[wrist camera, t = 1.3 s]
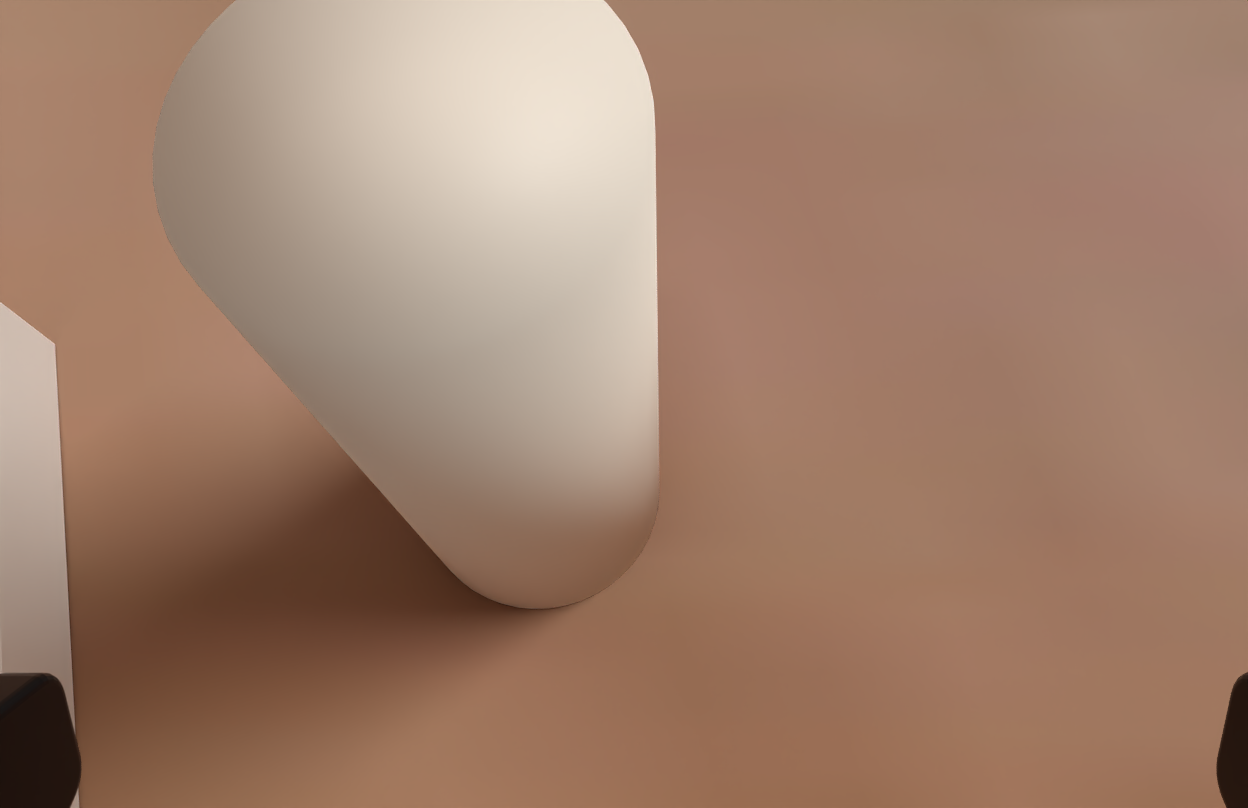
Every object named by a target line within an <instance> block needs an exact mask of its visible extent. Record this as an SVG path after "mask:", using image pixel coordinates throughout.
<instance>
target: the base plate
mask: <svg viewBox="0 0 1248 808" xmlns="http://www.w3.org/2000/svg"><path fill="white" fill-rule="evenodd" d="M1 673H50V674H52V675H53V676H55V677H57V678H58V679H59V681H60V682H61V684H62V686H63V688H64V691H65V695H66V699H67V703H68V707H69V711H70V715H71V719H72V723H73V728H74V732H75V716H74V697H73V678H72V659H71V640H70V621H69V602H68V583H67V564H66V545H65V526H64V507H63V488H62V469H61V450H60V431H59V412H58V393H57V374H56V355H55V344H54V343H53V342H51V341H50V340H49V339H48V338H46V337H45V336H44V335H42V334H41V333H40V332H38V331H37V330H36V329H35V328H33V327H32V326H31V325H29V324H28V323H27V322H25V321H24V320H23V319H22V318H20V317H19V316H18V315H16V314H15V313H14V312H12V311H11V310H10V309H9V308H7V307H6V306H5V305H3V304H2V303H1V302H0V674H1ZM75 736H76V735H75ZM70 808H79V792H78V790H77V793H76V796H75V798H74V800H73V803H72V805H71V807H70Z"/></svg>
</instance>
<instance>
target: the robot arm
mask: <svg viewBox="0 0 1248 808" xmlns="http://www.w3.org/2000/svg"><path fill="white" fill-rule="evenodd" d="M80 778H81V757H80V752H79V748H78V744H77V740H76V736H75V732H74V728H73V723H72V719H71V715H70V711H69V707H68V703H67V699H66V695H65V691H64V688H63V686H62V684H61V682H60V681H59V679H58V678H57V677H55V676H53V675H52V674H50V673H1V674H0V808H70V807H71V805H72V803H73V800H74V798H75V796H76V793H77V790H78V787H79V783H80ZM1217 780H1218V785H1219V789H1220V793H1221V795H1222V798H1223V801H1224V803H1225V805H1226V808H1248V672H1247V673H1245V674H1243V675H1242V676H1240V677H1239V678H1238V679H1237V681H1236V682H1235V684H1234V686H1233V689H1232V692H1231V697H1230V701H1229V706H1228V711H1227V715H1226V720H1225V724H1224V729H1223V734H1222V738H1221V743H1220V748H1219V752H1218V757H1217Z"/></svg>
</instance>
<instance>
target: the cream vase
mask: <svg viewBox="0 0 1248 808" xmlns="http://www.w3.org/2000/svg"><path fill="white" fill-rule="evenodd" d="M153 185H154V191H155V197H156V202H157V208H158V212H159V215H160V218H161V221H162V224H163V227H164V229H165V232H166V235H167V238H168V240H169V242H170V243H171V245H172V247H173V249H174V251H175V253H176V254H177V256H178V258H179V260H180V262H181V263H182V265H183V266H184V267H185V269H186V270H187V271H188V273H189V274H190V275H191V276H192V278H193V279H194V280H195V282H196V283H197V284H198V286H199V287H200V288H201V289H202V290H203V291H204V292H205V294H206V295H207V296H208V297H209V298H210V299H211V300H212V302H213V303H214V304H215V305H216V306H217V307H218V308H219V309H220V311H221V312H222V313H223V314H224V315H225V316H226V317H227V319H228V320H229V321H230V322H231V323H232V324H233V325H234V326H235V328H236V329H237V330H238V331H239V332H240V333H241V334H242V335H243V337H244V338H245V339H246V340H247V341H248V342H249V343H250V345H251V346H252V347H253V348H254V349H255V350H256V351H257V352H258V354H259V355H260V356H261V357H262V358H263V359H264V360H265V362H266V363H267V364H268V365H269V366H270V367H271V368H272V369H273V371H274V372H275V373H276V374H277V375H278V376H279V377H280V378H281V380H282V381H283V382H284V383H285V384H286V385H287V386H288V388H289V389H290V390H291V391H292V392H293V393H294V394H295V395H296V397H297V398H298V399H299V400H300V401H301V402H302V403H303V405H304V406H305V407H306V408H307V409H308V410H309V411H310V412H311V414H312V415H313V416H314V417H315V418H316V419H317V420H318V421H319V423H320V424H321V425H322V426H323V427H324V428H325V429H326V431H327V432H328V433H329V434H330V435H331V436H332V437H333V438H334V440H335V441H336V442H337V443H338V444H339V445H340V446H341V448H342V449H343V450H344V451H345V452H346V453H347V454H348V455H349V457H350V458H351V459H352V460H353V461H354V462H355V463H356V465H357V466H358V467H359V468H360V469H361V470H362V471H363V472H364V474H365V475H366V476H367V477H368V478H369V479H370V480H371V481H372V483H373V484H374V485H375V486H376V487H377V488H378V489H379V491H380V492H381V493H382V494H383V495H384V496H385V497H386V498H387V500H388V501H389V502H390V503H391V504H392V505H393V506H394V508H395V509H396V510H397V511H398V512H399V513H400V514H401V515H402V517H403V518H404V519H405V520H406V521H407V522H408V523H409V524H410V526H411V527H412V528H413V529H414V530H415V531H416V532H417V534H418V535H419V536H420V537H421V538H422V539H423V540H424V541H425V543H426V544H427V545H428V546H429V547H430V548H431V549H432V551H433V552H434V553H435V554H436V555H437V556H438V557H439V558H440V560H441V561H442V562H443V563H444V564H445V565H446V566H447V567H448V569H449V570H450V571H451V572H452V573H453V574H454V575H455V576H456V577H457V578H458V579H459V580H460V581H461V582H462V583H464V584H465V585H467V586H468V587H469V588H471V589H472V590H473V591H475V592H477V593H479V594H480V595H482V596H484V597H486V598H488V599H490V600H493V601H496V602H498V603H501V604H504V605H509V606H513V607H518V608H528V609H548V608H555V607H561V606H567V605H570V604H573V603H576V602H579V601H582V600H584V599H587V598H589V597H591V596H593V595H595V594H597V593H599V592H600V591H602V590H603V589H605V588H607V587H608V586H610V585H611V584H612V583H613V582H615V581H616V580H617V579H618V578H620V577H621V576H622V575H623V574H624V573H625V572H626V571H627V570H628V569H629V567H630V566H631V565H632V564H633V563H634V562H635V560H636V559H637V557H638V556H639V555H640V553H641V552H642V550H643V548H644V546H645V545H646V543H647V541H648V539H649V537H650V534H651V532H652V529H653V526H654V523H655V520H656V515H657V511H658V504H659V413H658V327H657V241H656V156H655V117H654V101H653V96H652V91H651V87H650V82H649V77H648V74H647V71H646V68H645V66H644V63H643V61H642V58H641V55H640V53H639V50H638V48H637V46H636V45H635V43H634V41H633V39H632V38H631V36H630V34H629V32H628V31H627V29H626V27H625V26H624V24H623V23H622V22H621V20H620V19H619V18H618V17H617V15H616V14H615V13H614V11H613V10H612V9H611V8H610V6H609V5H608V4H607V3H606V2H605V1H604V0H236V1H235V2H233V3H232V4H231V5H230V6H229V7H228V8H227V9H226V10H225V11H224V12H223V13H222V14H221V15H220V16H219V17H218V18H217V19H216V20H215V21H214V22H213V23H212V24H211V25H210V26H209V27H208V28H207V30H206V31H205V32H204V33H203V35H202V36H201V37H200V38H199V40H198V41H197V42H196V43H195V45H194V46H193V47H192V48H191V50H190V52H189V53H188V55H187V56H186V58H185V60H184V61H183V63H182V65H181V66H180V68H179V69H178V71H177V73H176V75H175V77H174V79H173V81H172V84H171V86H170V88H169V90H168V93H167V95H166V97H165V99H164V103H163V106H162V110H161V113H160V117H159V120H158V123H157V127H156V134H155V141H154V149H153Z"/></svg>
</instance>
